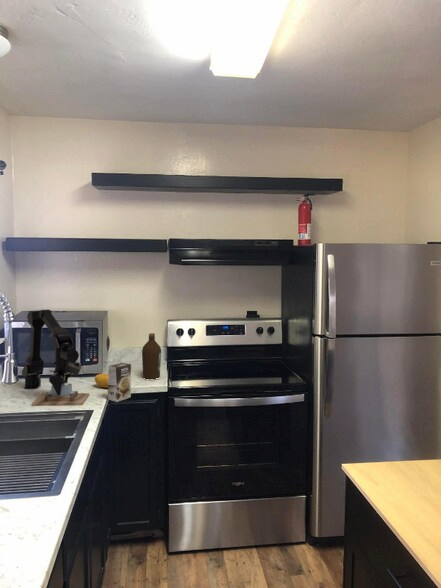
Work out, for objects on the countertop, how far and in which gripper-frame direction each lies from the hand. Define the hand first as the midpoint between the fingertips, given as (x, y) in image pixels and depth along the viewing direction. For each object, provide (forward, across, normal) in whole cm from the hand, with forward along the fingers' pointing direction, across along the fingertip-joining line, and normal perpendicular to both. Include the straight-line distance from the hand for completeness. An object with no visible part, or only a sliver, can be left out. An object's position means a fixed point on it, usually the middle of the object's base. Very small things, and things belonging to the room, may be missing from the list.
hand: (61, 392), depth 201 cm
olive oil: (+4, +38, -39) cm, 55 cm away
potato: (+4, +20, -18) cm, 27 cm away
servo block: (+3, 0, 0) cm, 3 cm away
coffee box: (+4, +2, -26) cm, 26 cm away
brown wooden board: (+4, 0, 0) cm, 4 cm away
